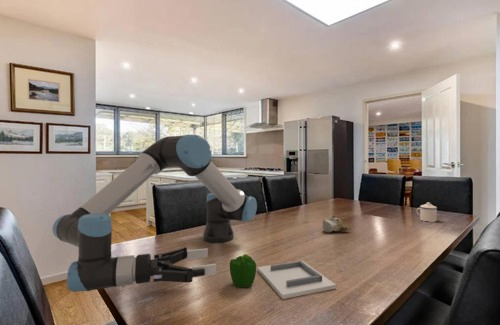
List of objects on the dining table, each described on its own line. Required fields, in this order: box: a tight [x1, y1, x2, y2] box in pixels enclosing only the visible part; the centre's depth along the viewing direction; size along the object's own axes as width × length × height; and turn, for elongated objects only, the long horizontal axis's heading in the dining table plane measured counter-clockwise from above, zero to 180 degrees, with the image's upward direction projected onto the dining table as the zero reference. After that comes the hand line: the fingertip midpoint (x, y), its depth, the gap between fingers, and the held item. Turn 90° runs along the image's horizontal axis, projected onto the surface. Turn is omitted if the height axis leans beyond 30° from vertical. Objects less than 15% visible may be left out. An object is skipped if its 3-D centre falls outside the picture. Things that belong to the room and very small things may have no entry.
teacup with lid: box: [416, 201, 438, 223], centre depth 167 cm, size 12×9×12 cm
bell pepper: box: [229, 253, 257, 288], centre depth 83 cm, size 8×8×10 cm
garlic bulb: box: [322, 215, 352, 234], centre depth 143 cm, size 11×9×15 cm
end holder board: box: [257, 260, 337, 300], centre depth 86 cm, size 20×18×3 cm
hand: (211, 260), depth 79 cm, fingers open, 13 cm apart
